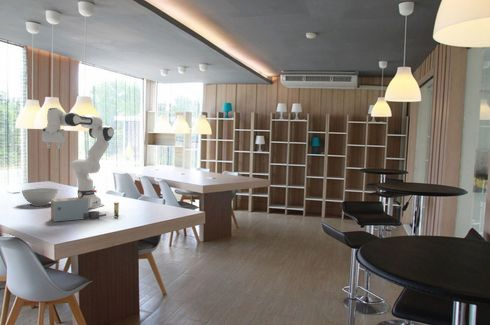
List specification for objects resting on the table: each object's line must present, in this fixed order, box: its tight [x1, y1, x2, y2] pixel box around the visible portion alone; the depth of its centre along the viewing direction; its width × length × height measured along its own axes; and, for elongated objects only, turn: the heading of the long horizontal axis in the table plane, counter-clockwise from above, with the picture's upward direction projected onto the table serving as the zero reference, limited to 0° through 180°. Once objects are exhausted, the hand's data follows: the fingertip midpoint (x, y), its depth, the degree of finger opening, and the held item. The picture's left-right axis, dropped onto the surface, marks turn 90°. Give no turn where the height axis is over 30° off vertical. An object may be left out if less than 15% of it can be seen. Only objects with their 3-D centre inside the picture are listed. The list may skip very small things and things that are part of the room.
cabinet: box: [50, 196, 87, 222], centre depth 270 cm, size 22×10×14 cm, turn 126°
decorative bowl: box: [21, 187, 59, 207], centre depth 322 cm, size 27×27×12 cm
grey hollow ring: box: [83, 210, 100, 220], centre depth 273 cm, size 10×7×4 cm, turn 126°
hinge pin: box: [113, 201, 120, 217], centre depth 283 cm, size 3×3×10 cm
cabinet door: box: [53, 199, 89, 222], centre depth 265 cm, size 22×3×14 cm, turn 126°
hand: (53, 148), depth 285 cm, fingers open, 8 cm apart
